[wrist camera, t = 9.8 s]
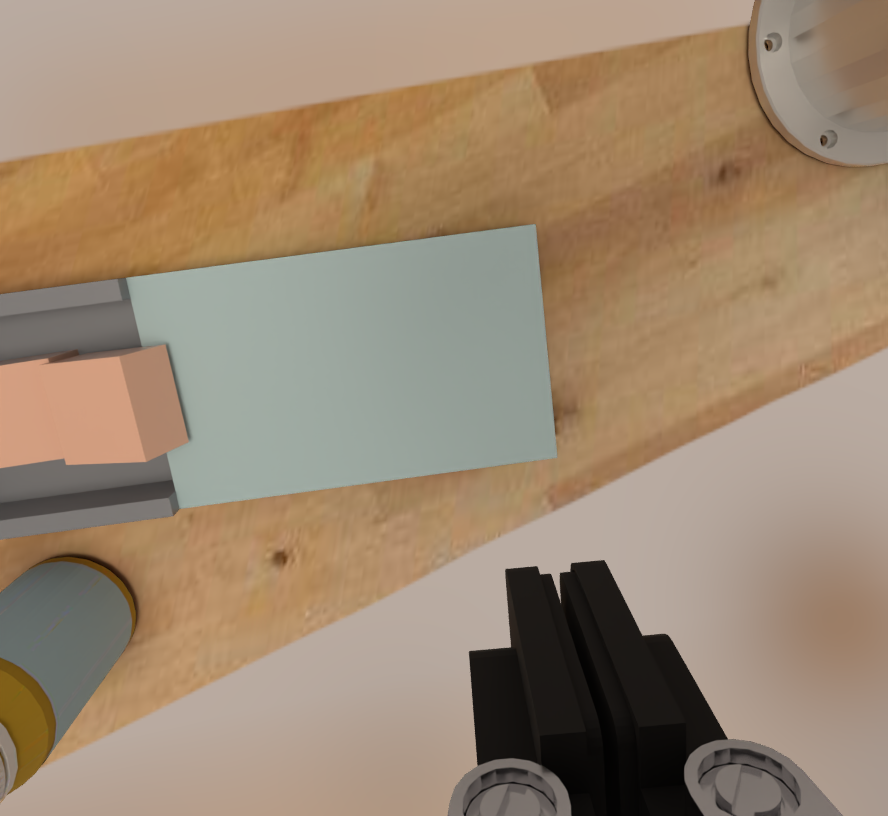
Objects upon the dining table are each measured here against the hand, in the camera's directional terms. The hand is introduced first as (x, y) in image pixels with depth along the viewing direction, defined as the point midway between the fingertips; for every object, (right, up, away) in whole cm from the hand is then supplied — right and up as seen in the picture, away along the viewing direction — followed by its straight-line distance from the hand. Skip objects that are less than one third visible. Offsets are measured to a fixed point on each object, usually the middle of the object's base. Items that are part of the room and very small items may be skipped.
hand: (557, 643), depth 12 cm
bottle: (-23, -8, +28) cm, 37 cm away
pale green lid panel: (-7, +6, +26) cm, 27 cm away
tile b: (-23, +4, +25) cm, 34 cm away
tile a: (-17, +4, +23) cm, 30 cm away
